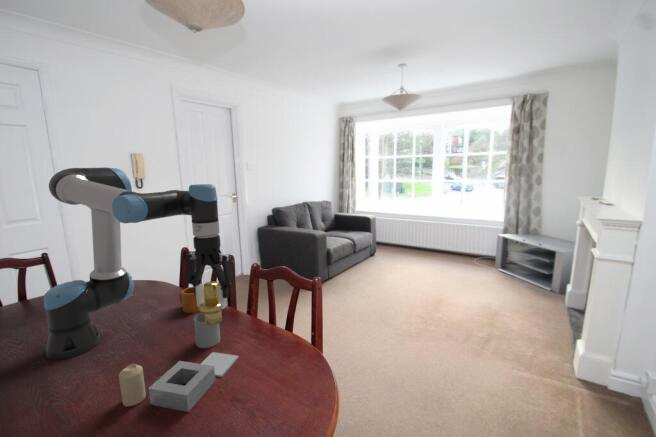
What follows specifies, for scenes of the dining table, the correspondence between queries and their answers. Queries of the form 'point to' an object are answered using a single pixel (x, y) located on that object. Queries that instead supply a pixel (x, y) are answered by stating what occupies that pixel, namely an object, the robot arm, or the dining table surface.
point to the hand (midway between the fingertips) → (212, 305)
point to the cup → (205, 332)
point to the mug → (188, 300)
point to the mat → (220, 362)
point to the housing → (179, 396)
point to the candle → (132, 385)
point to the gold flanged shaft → (211, 304)
